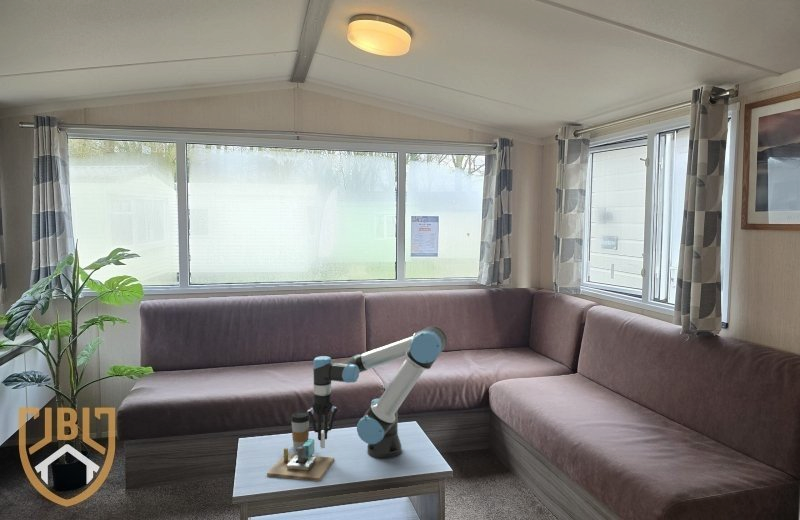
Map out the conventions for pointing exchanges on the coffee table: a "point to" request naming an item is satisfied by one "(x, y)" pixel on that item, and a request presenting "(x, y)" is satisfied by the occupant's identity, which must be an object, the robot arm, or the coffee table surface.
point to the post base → (312, 474)
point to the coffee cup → (300, 428)
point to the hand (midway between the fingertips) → (322, 446)
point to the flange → (308, 459)
